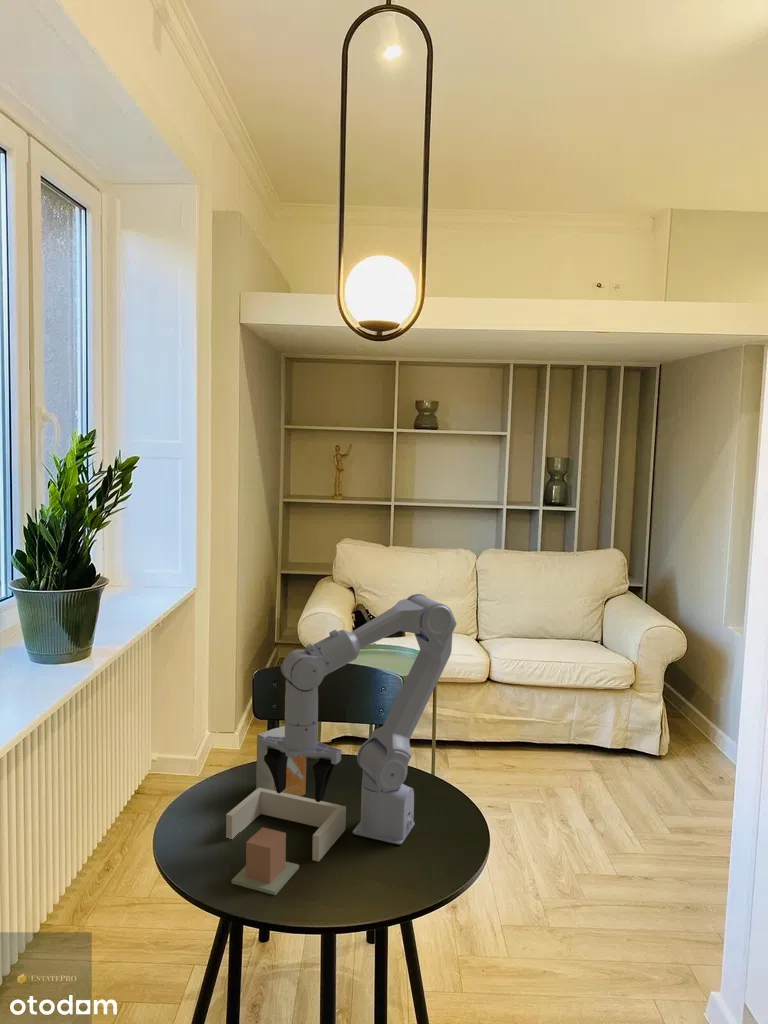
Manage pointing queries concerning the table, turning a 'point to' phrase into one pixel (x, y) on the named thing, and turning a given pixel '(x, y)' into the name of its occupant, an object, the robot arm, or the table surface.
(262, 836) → the block
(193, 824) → the table surface
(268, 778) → the small box
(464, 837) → the table surface
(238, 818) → the u-shaped wall
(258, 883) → the mat
